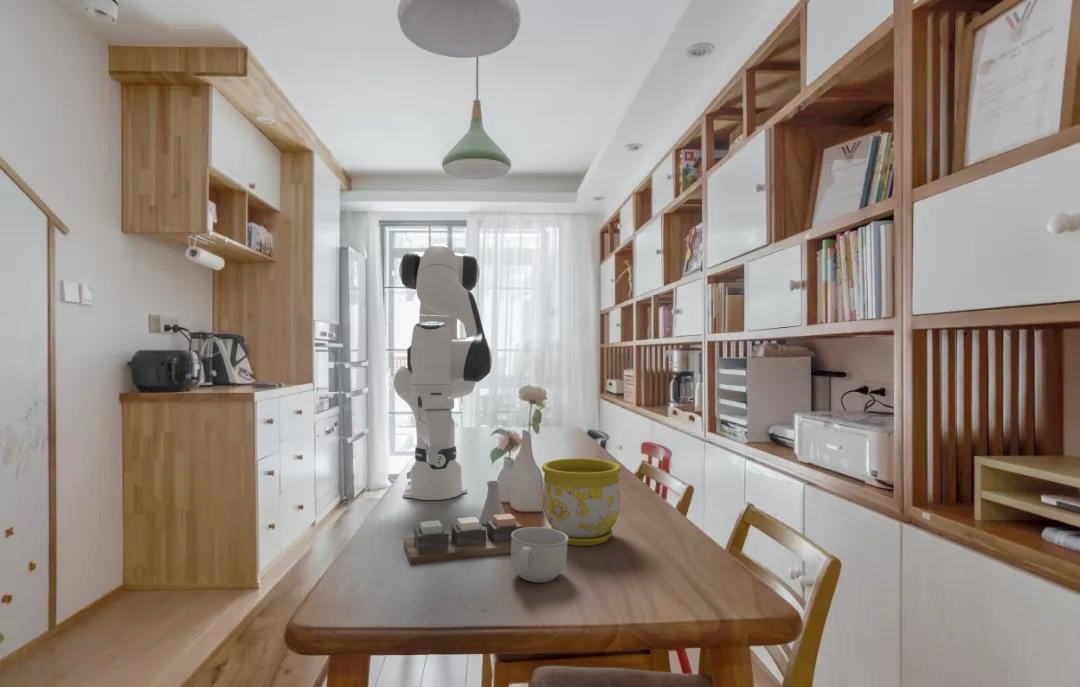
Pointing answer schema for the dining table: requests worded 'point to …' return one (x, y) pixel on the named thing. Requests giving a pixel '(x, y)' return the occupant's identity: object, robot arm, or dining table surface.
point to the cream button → (468, 524)
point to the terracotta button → (504, 520)
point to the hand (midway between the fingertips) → (431, 463)
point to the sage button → (430, 527)
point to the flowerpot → (582, 498)
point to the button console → (459, 543)
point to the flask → (491, 503)
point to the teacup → (538, 553)
